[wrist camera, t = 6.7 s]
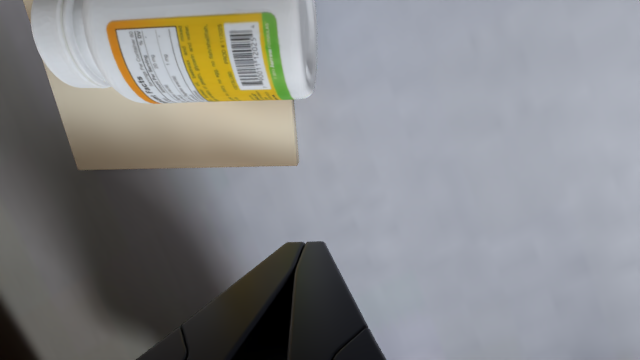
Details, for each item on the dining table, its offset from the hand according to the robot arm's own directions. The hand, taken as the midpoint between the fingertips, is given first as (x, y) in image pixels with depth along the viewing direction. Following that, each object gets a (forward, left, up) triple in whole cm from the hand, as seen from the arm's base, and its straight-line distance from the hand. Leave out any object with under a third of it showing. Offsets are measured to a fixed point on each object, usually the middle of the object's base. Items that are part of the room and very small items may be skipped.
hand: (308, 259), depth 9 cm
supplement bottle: (+5, 0, -9) cm, 10 cm away
